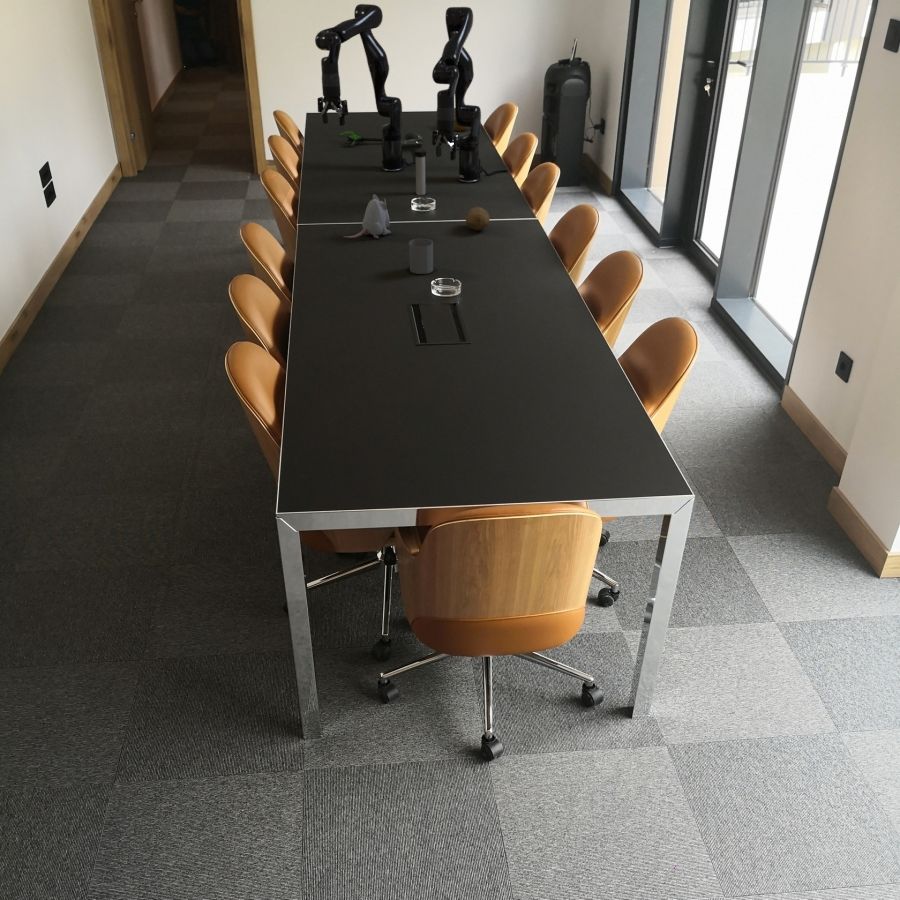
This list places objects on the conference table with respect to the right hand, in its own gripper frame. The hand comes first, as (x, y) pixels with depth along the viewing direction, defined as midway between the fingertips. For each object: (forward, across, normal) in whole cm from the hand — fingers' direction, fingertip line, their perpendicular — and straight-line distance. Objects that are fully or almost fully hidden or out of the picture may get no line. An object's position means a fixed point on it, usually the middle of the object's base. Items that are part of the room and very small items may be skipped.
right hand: (445, 158), depth 364 cm
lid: (+1, +19, -2) cm, 19 cm away
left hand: (-10, +45, +24) cm, 52 cm away
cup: (+19, -51, +60) cm, 81 cm away
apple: (+19, +94, -101) cm, 140 cm away
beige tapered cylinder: (+19, +19, -2) cm, 27 cm away
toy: (+19, -12, +53) cm, 58 cm away
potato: (+19, -33, +14) cm, 41 cm away
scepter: (+19, +106, -42) cm, 116 cm away
